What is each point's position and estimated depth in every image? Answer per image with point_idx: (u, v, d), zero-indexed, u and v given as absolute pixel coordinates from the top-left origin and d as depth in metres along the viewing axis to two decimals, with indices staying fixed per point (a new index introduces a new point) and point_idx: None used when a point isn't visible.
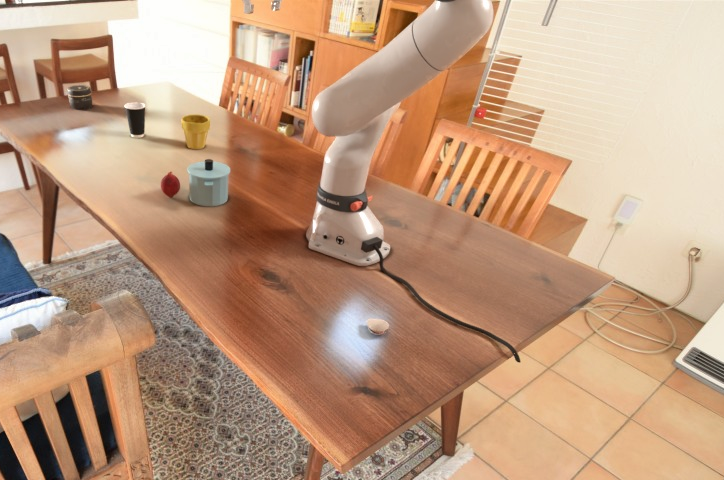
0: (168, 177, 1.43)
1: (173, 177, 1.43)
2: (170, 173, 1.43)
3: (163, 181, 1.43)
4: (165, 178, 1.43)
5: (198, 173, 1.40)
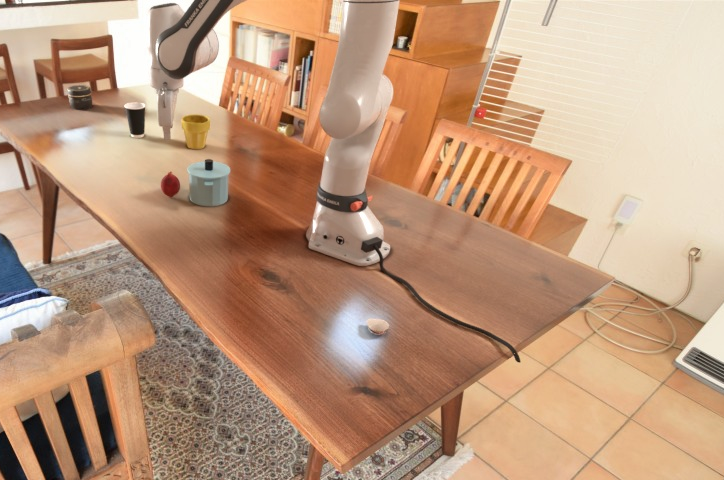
0: (168, 177, 1.43)
1: (173, 177, 1.43)
2: (170, 173, 1.43)
3: (163, 181, 1.43)
4: (165, 178, 1.43)
5: (198, 173, 1.40)
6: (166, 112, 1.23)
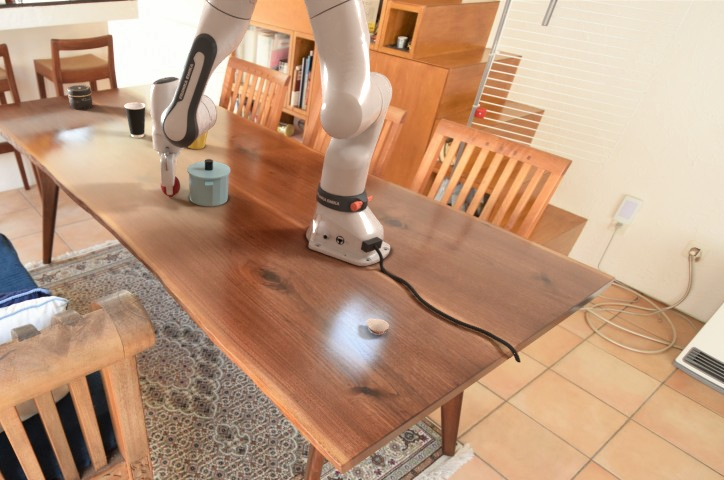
0: None
1: None
2: None
3: None
4: None
5: (198, 173, 1.40)
6: (168, 174, 1.34)
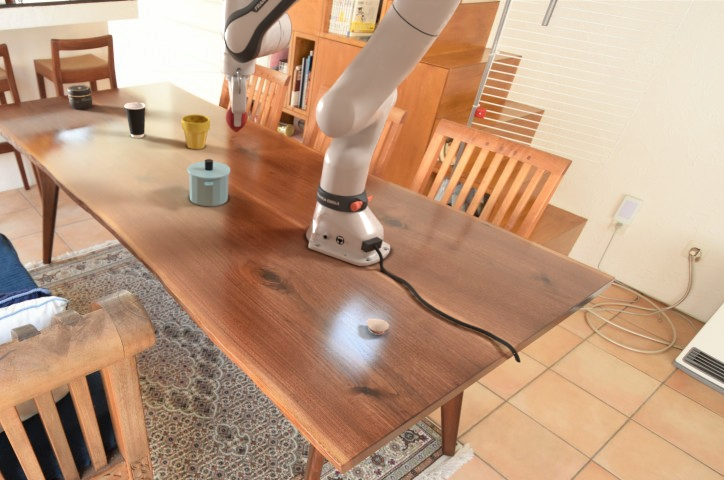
0: None
1: None
2: None
3: (230, 112, 1.31)
4: None
5: (198, 173, 1.40)
6: (241, 98, 1.21)
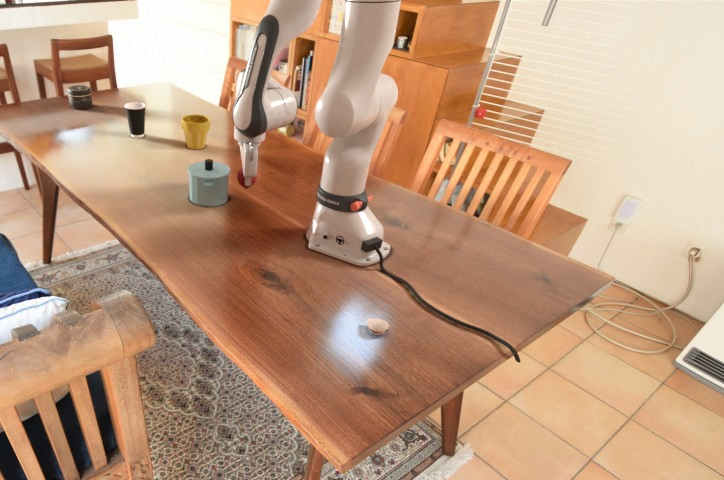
0: None
1: None
2: None
3: (241, 172, 1.42)
4: None
5: (198, 173, 1.40)
6: (252, 165, 1.32)
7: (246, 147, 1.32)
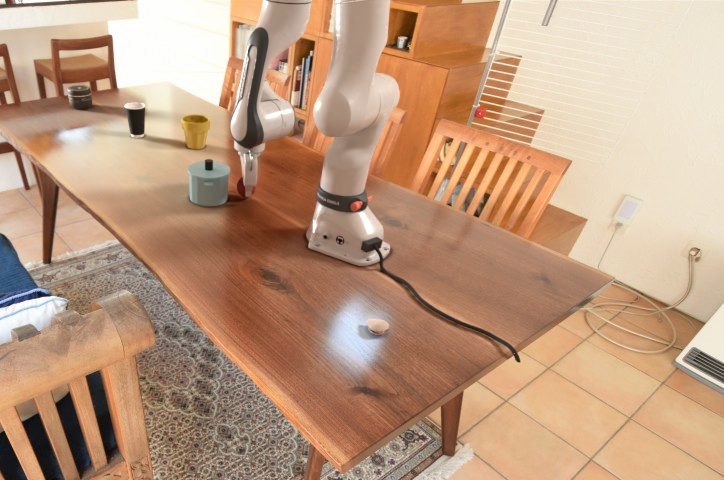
0: None
1: None
2: None
3: (240, 182, 1.44)
4: (242, 179, 1.44)
5: (198, 173, 1.40)
6: (252, 174, 1.34)
7: (246, 157, 1.34)
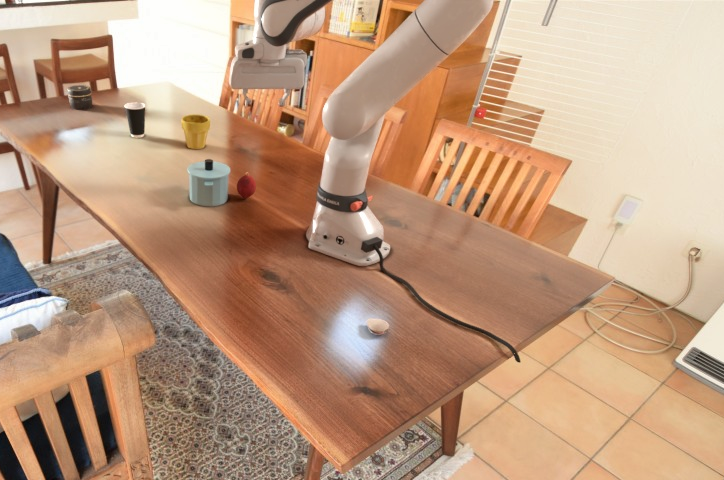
0: (246, 179, 1.43)
1: (250, 178, 1.44)
2: (247, 174, 1.44)
3: (240, 182, 1.44)
4: (242, 179, 1.44)
5: (198, 173, 1.40)
6: None
7: (296, 58, 1.27)
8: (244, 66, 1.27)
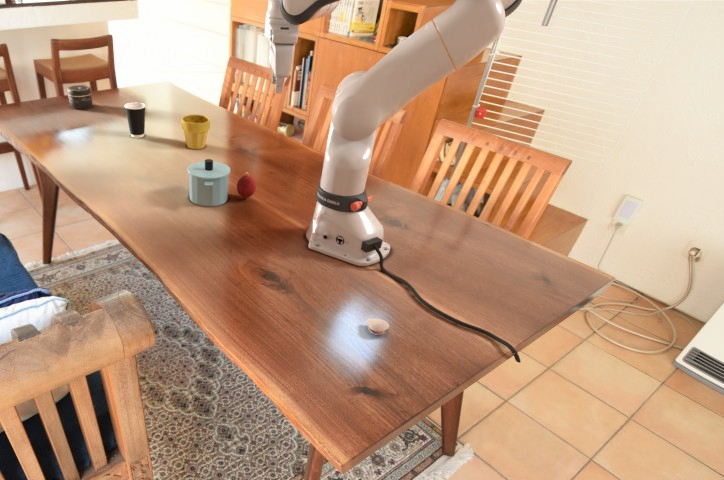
0: (246, 179, 1.43)
1: (250, 178, 1.44)
2: (247, 174, 1.44)
3: (240, 182, 1.44)
4: (242, 179, 1.44)
5: (198, 173, 1.40)
6: None
7: None
8: None
